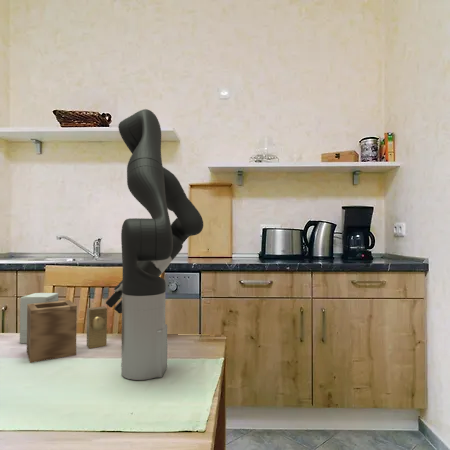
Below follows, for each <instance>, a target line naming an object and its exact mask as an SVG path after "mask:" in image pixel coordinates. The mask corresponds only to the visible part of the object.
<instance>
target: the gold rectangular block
mask: <svg viewBox="0 0 450 450" xmlns="http://www.w3.org/2000/svg"><path fill="white" fill-rule="evenodd" d="M107 319H108V308H107V307H106V306H104V305H103V306H96V307H87V308H86V347H87V348H88V350H90V349H95V348H103V347H107V346H108V345H107V334H108V333H107V329H108V328H107V327H108V325H107V324H108V323H107V322H108V320H107Z"/></svg>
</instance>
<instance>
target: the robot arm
mask: <svg viewBox="0 0 450 450" xmlns="http://www.w3.org/2000/svg"><path fill="white" fill-rule="evenodd" d="M117 127H118V132H119V135H120V137H121V139H122V140H123V142H124V144H125V145H126V147H127V149H129V151H130V153H131V156H130V158H129V159H128V162H127V165H126V184H127V188H128V190H129V192H130V194H131V195H132V196H133V197H134V198H135V200H136V201H137V202H139V203H140V205H141V206H142V207H143V208H145V210H146V211H147V212H148V213H149V215H150V216H151V218H145V217H144V218H143V217H142V218H126V219H125V220H124V221H123V224H122V226H121V233H120V234H121V235H120V236H121V237H120V238H121V259H122V260H121V261H122V264H121V265H122V280H121V281H120V282H119V283H118V284H117V285H116V286H115V287H114V288H113V290H114V293H112V295H111V296H110V297H109V298H108V299H107V300H106V301H105V304H106V305H107V306H108V307H109V308H113V307H114V311H116V312H117V313H118V314H121V362H120V363H121V365H120V367H121V376H122V377H123V378H125V379H127V380H135V381H143V380H151V379H155V378H162V377H163V375H164V374H165V372H166V370H167V368H168V324H166V280H165V279H164V278H163V277H161V275H162V274H163V273H164V272H165V270H166V269H168V267H169V266H170V264H171V263H172V262H173V260H174V259H175V258H176V257H177V256H178V254H179V253H180V252H181V251H182V249H183V244H184V243H185V242H186V241H187V239H188V238H189V237H192V236H197V235H199V234H200V233H201V232H203V228H204V220H203V218H202V215H201V213H200V212H199V210H198V209H197V207H196V206H195V205H194V204H193V202H192V201H191V200H190V199H189V198H188V196H187V195H186V192H185V190H184V188H183V187H182V185H181V183H180V181H179V179H178V177H176V175H175V174H174V173H172V172H171V171H170V170H169V169H167V168H166V167H164V166H163V159H162V129H161V123H160V122H159V119H158V117H157V115H156V114H155V113H154V112H153V111H152V110H150V109H146V108H145V109H141V110H138V111H137V112H135V113H132V115H129V116H128V117H127V118H126V117H125V118H124V119H123V120H121V121H120V122H119V123H118V126H117ZM168 210H169V211H171V212H172V213H174V215H175V216H176V219H174V220H173V221H172V222H171V219H170V214H169V211H168ZM115 304H116V305H115Z"/></svg>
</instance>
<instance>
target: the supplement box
mask: <svg viewBox="0 0 450 450" xmlns="http://www.w3.org/2000/svg"><path fill="white" fill-rule="evenodd" d="M55 301H59V292H34V293H31V294H28V295H24V296H21V297H20V304H19V305H20V313H19V314H20V315H19V344H27V304H33V303H44V302H55Z"/></svg>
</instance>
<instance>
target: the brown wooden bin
mask: <svg viewBox="0 0 450 450" xmlns="http://www.w3.org/2000/svg"><path fill="white" fill-rule="evenodd" d="M77 310H78V309H77V305H76V304H75V303H74V302H73V301H72V300H70V299H67V300H65V299H64V300H58V301H55V302H44V303H33V304H27V343H26V353H27V356H28V360H29V364H32V363H38V362H42V361H48V360H56V359H60V358H66V357H71V356H73V357H74V356H77V320H78V319H77V313H78V312H77Z"/></svg>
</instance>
